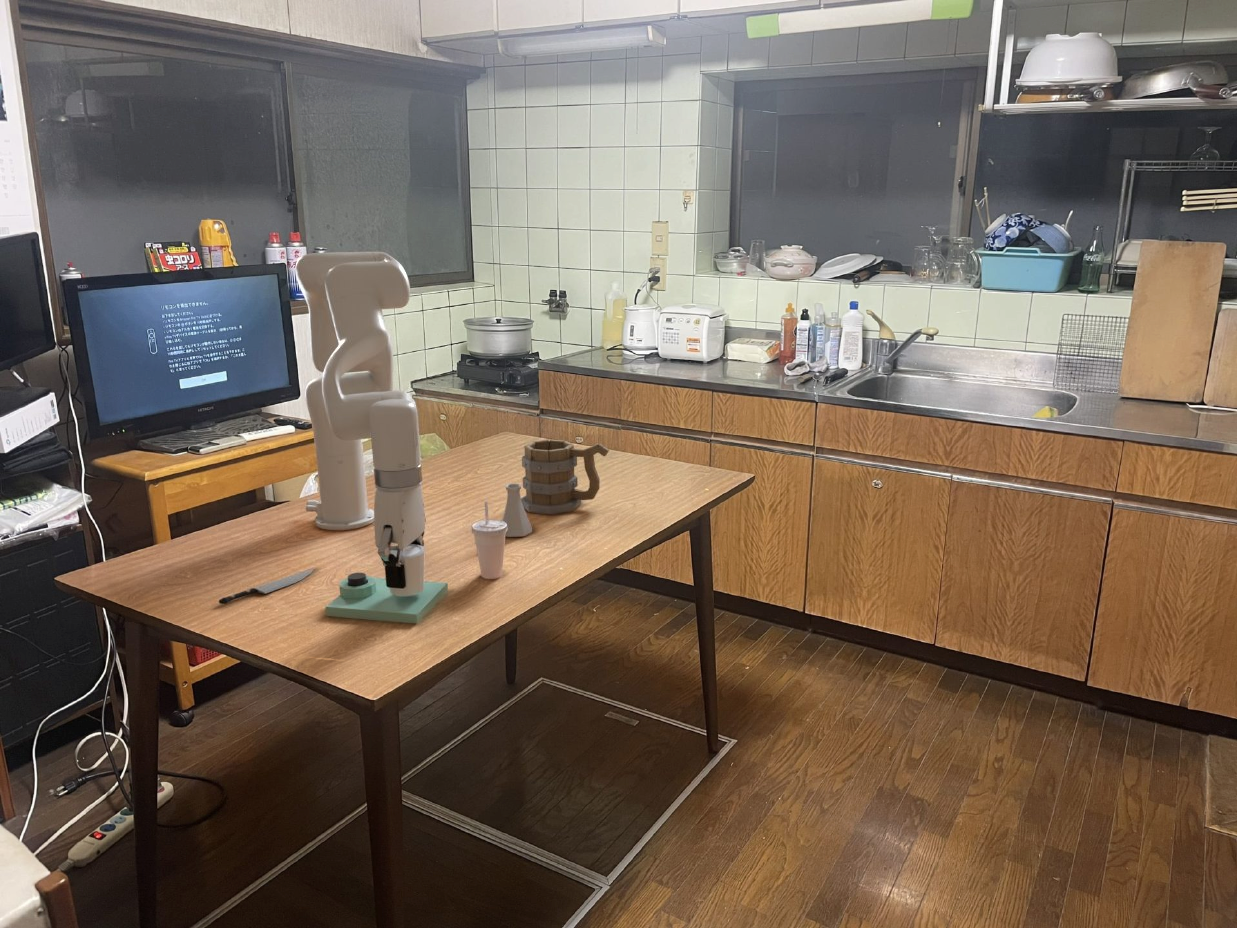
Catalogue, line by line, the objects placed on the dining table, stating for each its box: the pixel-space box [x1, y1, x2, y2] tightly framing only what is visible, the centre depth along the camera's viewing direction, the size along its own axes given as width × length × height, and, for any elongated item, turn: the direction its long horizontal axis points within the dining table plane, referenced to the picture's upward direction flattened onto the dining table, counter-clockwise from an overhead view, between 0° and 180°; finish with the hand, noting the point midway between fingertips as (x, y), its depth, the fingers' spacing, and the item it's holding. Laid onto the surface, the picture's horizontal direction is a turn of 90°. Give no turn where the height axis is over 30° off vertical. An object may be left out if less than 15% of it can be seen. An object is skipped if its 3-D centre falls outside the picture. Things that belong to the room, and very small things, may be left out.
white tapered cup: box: [389, 544, 426, 596], centre depth 152 cm, size 7×7×7 cm
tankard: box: [521, 439, 610, 516], centre depth 202 cm, size 20×13×15 cm, turn 71°
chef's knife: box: [218, 568, 314, 605], centre depth 161 cm, size 19×1×3 cm
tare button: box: [347, 572, 367, 587], centre depth 154 cm, size 3×3×2 cm
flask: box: [500, 483, 533, 538], centre depth 187 cm, size 7×7×10 cm
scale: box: [325, 575, 449, 625], centre depth 154 cm, size 16×13×4 cm
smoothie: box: [471, 500, 508, 580], centre depth 164 cm, size 6×6×14 cm
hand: (406, 577), depth 152 cm, fingers closed on white tapered cup, 6 cm apart
